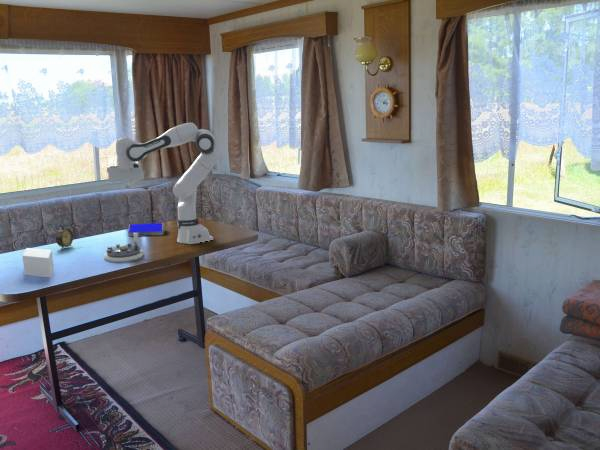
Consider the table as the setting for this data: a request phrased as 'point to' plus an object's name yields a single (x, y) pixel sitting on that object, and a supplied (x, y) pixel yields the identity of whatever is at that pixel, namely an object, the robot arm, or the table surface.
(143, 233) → the blue screen device
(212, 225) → the table surface
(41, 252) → the white box
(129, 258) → the base plate
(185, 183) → the robot arm
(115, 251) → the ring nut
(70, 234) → the alarm clock
